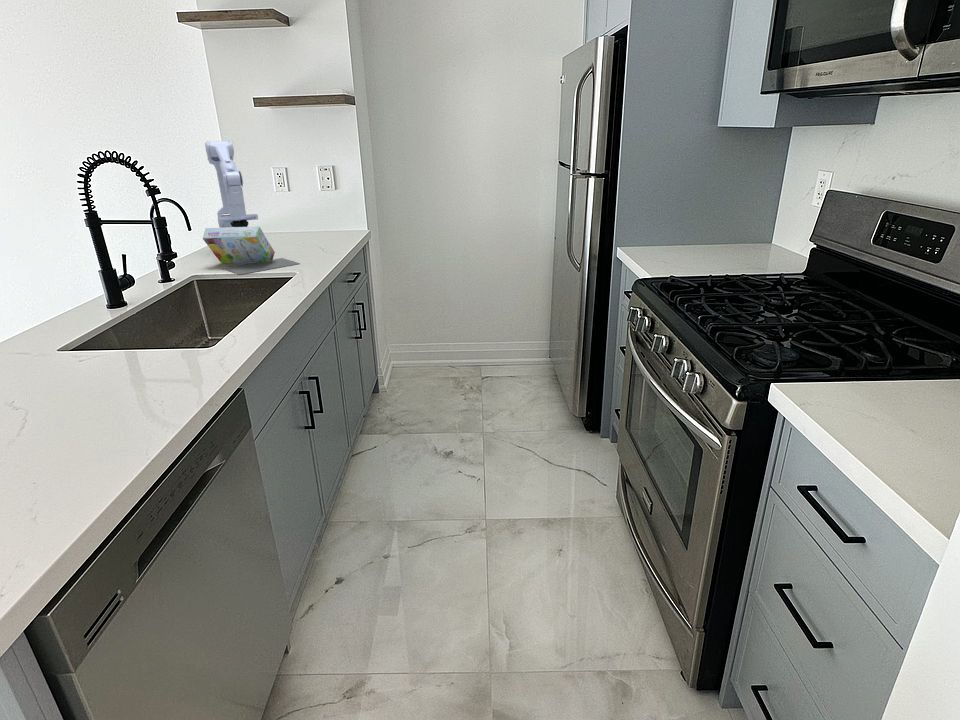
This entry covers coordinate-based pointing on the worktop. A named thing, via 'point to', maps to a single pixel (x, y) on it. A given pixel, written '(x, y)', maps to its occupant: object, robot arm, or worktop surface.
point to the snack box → (239, 244)
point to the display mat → (261, 266)
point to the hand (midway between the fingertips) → (242, 240)
